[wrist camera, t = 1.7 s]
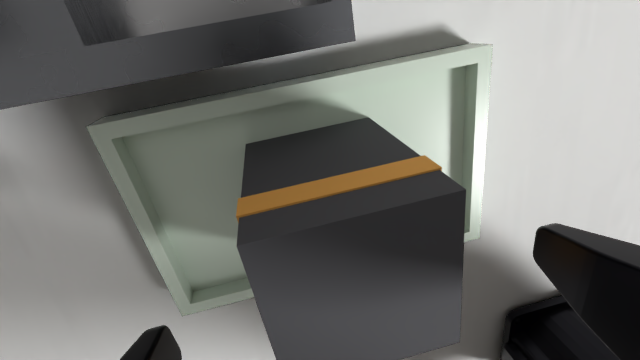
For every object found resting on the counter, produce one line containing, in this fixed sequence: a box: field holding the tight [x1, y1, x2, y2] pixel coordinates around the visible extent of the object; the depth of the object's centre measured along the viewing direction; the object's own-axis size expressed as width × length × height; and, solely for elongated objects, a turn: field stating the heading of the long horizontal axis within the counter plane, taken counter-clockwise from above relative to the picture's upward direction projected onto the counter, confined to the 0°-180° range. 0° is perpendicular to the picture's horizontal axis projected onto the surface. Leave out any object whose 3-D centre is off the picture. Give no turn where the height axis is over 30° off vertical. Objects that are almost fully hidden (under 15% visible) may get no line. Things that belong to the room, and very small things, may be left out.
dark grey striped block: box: [236, 117, 466, 360], centre depth 10 cm, size 5×5×6 cm
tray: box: [86, 43, 493, 316], centre depth 12 cm, size 13×8×1 cm, turn 99°
